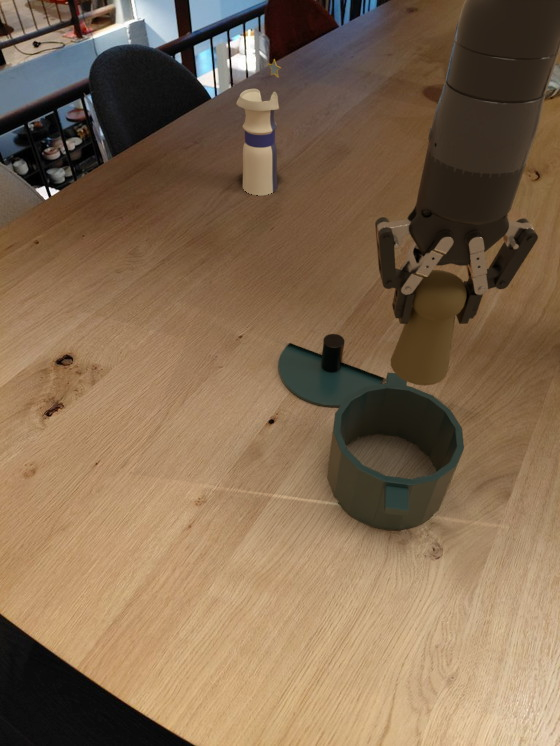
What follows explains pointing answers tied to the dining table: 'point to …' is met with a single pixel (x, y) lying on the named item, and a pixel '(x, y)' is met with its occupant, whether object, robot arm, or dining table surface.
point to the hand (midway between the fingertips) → (431, 318)
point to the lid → (322, 373)
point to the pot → (409, 422)
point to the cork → (429, 329)
